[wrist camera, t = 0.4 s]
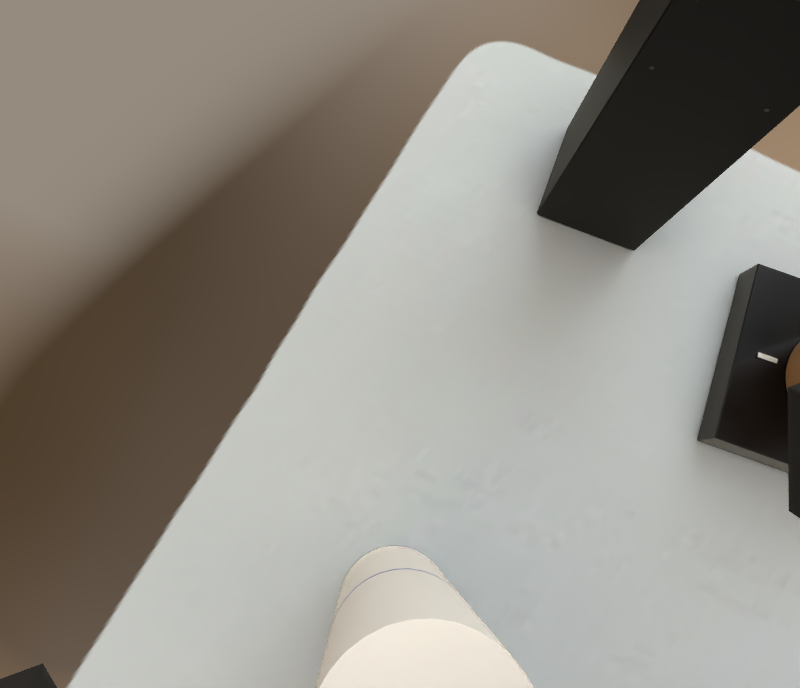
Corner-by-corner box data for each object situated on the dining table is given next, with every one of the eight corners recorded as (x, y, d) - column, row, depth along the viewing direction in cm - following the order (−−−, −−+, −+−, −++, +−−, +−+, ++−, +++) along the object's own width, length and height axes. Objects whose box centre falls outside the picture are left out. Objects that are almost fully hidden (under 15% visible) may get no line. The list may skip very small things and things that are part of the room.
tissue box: (633, 252, 50) (961, -32, 22) (534, 215, 50) (738, -112, 23) (663, 162, 51) (1001, -206, 24) (566, 126, 52) (793, -279, 24)
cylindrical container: (384, 523, 45) (403, 568, 20) (469, 590, 44) (595, 721, 20) (317, 614, 43) (251, 779, 19) (404, 685, 43) (452, 950, 18)
